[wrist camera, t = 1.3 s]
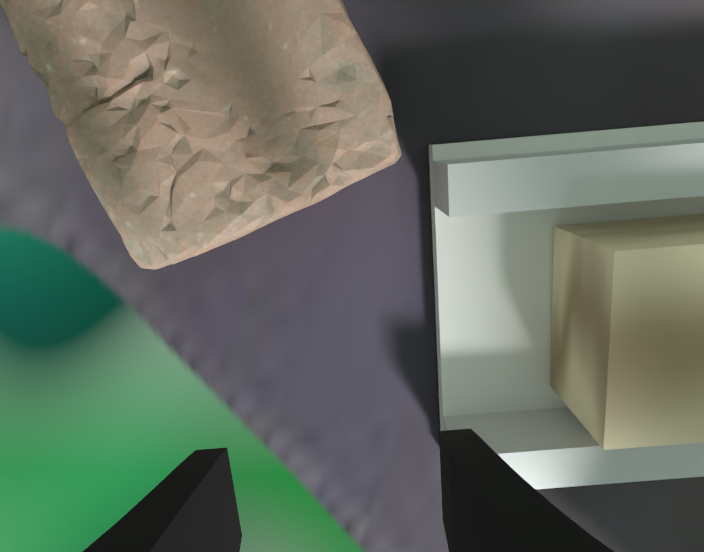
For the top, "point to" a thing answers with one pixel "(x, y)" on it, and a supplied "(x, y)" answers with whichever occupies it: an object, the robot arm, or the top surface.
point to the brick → (208, 110)
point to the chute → (541, 285)
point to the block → (631, 329)
